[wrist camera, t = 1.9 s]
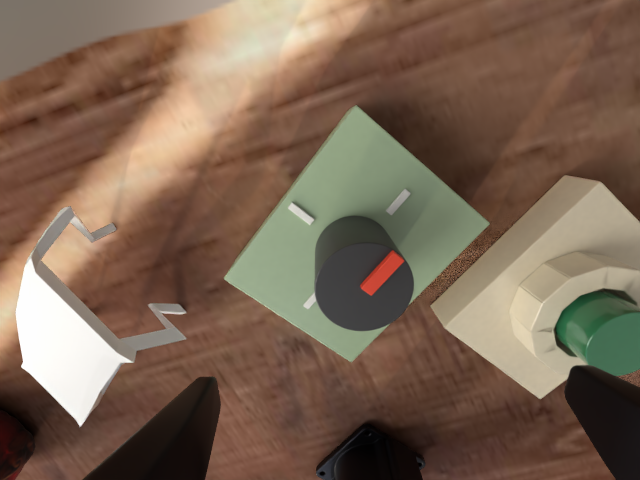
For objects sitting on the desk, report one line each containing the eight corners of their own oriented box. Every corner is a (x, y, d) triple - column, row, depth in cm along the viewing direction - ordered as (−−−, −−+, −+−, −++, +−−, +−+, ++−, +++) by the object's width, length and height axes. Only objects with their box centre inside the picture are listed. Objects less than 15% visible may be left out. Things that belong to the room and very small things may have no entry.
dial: (357, 299, 17) (369, 352, 13) (299, 258, 16) (293, 300, 12) (407, 246, 16) (437, 285, 12) (348, 199, 15) (359, 224, 11)
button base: (517, 372, 23) (563, 427, 19) (429, 305, 21) (457, 350, 17) (651, 262, 20) (742, 298, 16) (564, 174, 18) (639, 187, 14)
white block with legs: (217, 350, 22) (190, 410, 17) (108, 376, 23) (54, 440, 18) (141, 184, 18) (80, 204, 13) (12, 221, 19) (-88, 251, 14)
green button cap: (582, 359, 17) (615, 388, 15) (540, 325, 17) (570, 351, 15) (638, 315, 17) (681, 340, 15) (598, 277, 16) (637, 298, 14)
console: (346, 332, 22) (351, 364, 19) (236, 257, 20) (222, 280, 17) (464, 209, 19) (492, 224, 16) (349, 108, 17) (356, 104, 14)
